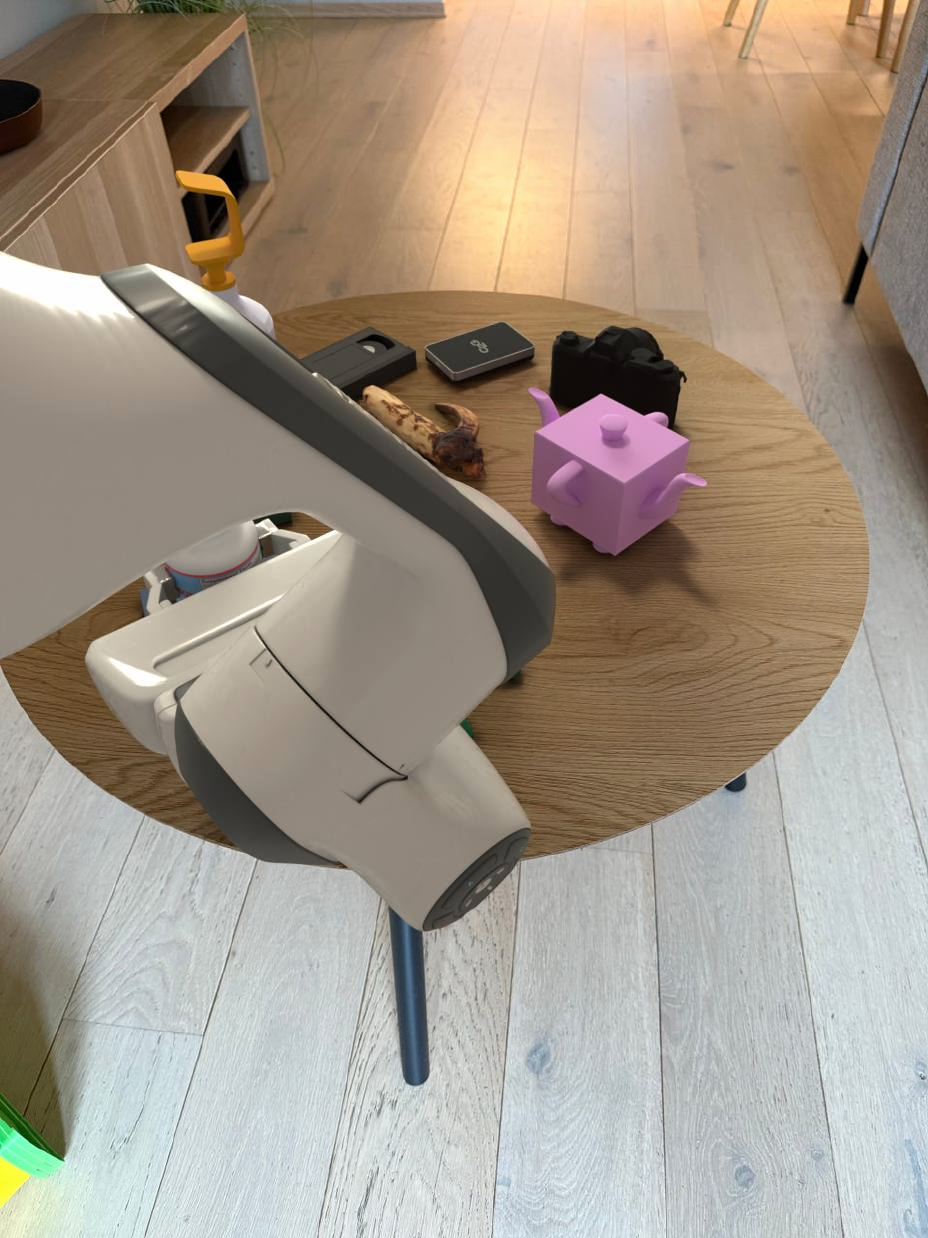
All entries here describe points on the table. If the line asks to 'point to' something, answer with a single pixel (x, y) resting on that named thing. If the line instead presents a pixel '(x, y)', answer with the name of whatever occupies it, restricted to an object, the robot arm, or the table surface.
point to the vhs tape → (362, 361)
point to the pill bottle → (216, 560)
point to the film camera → (615, 371)
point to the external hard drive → (479, 352)
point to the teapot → (608, 470)
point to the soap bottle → (223, 252)
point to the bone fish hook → (431, 432)
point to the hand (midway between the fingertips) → (207, 553)
